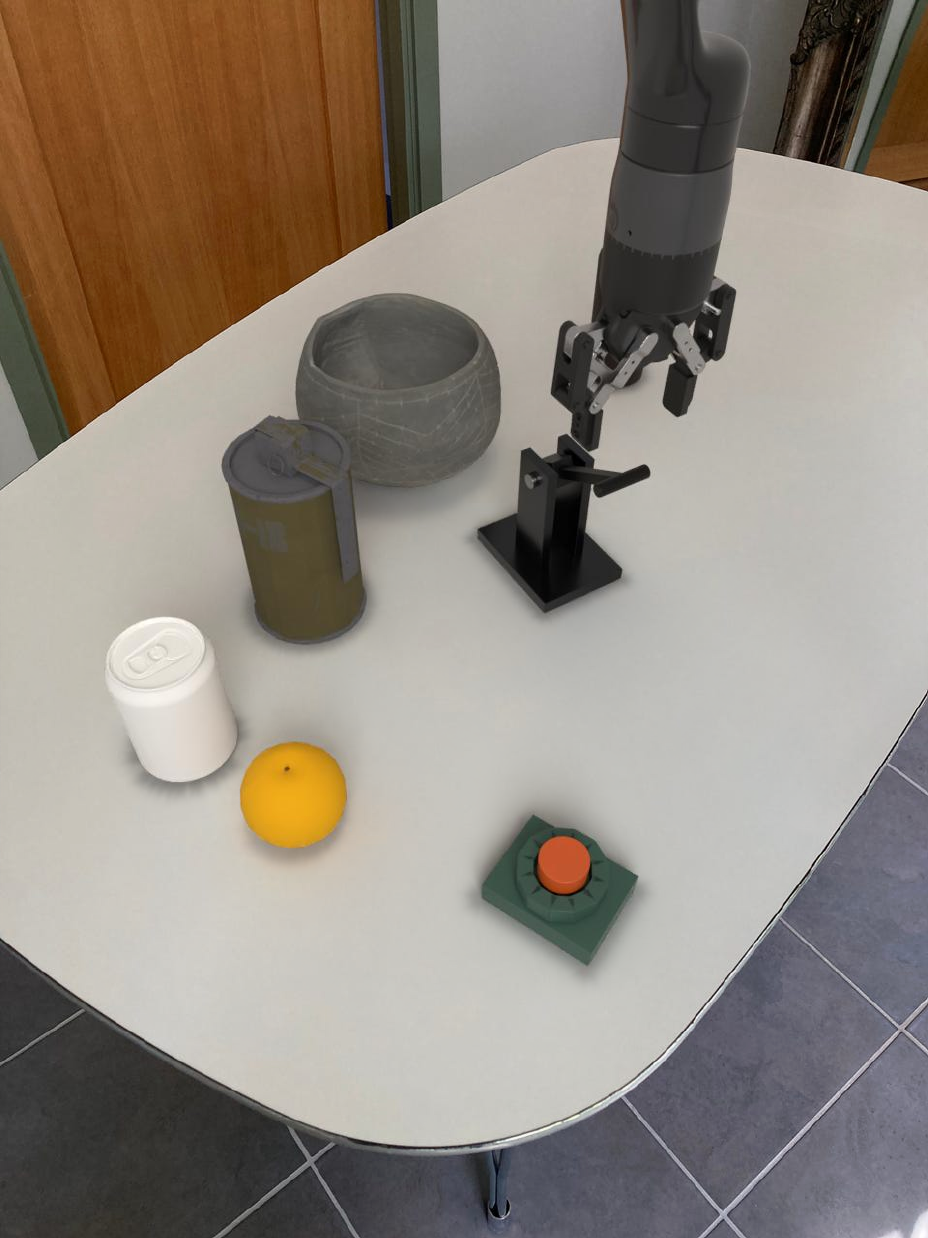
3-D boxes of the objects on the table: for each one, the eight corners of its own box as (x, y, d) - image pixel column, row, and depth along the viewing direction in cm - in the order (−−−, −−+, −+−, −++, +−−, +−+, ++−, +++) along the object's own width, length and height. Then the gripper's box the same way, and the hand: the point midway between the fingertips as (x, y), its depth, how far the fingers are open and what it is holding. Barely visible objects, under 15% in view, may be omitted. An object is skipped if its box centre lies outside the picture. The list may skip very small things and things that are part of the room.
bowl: (535, 482, 102) (544, 360, 91) (359, 551, 95) (346, 428, 84) (437, 384, 114) (436, 265, 103) (275, 438, 107) (254, 317, 96)
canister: (231, 613, 89) (186, 440, 74) (305, 549, 95) (277, 377, 80) (320, 665, 85) (291, 493, 70) (392, 595, 91) (379, 422, 76)
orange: (353, 773, 78) (345, 719, 72) (347, 862, 72) (338, 811, 67) (254, 775, 77) (238, 720, 72) (241, 864, 72) (223, 812, 67)
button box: (634, 890, 71) (642, 864, 68) (588, 966, 67) (594, 942, 64) (531, 828, 74) (534, 801, 71) (481, 898, 70) (482, 872, 67)
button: (596, 865, 68) (599, 853, 67) (571, 904, 66) (573, 892, 65) (553, 839, 70) (555, 827, 68) (527, 877, 68) (528, 865, 66)
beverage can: (258, 744, 79) (233, 652, 70) (176, 805, 75) (138, 715, 67) (201, 690, 83) (171, 595, 74) (120, 745, 79) (77, 652, 70)
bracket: (621, 578, 93) (640, 475, 83) (544, 613, 89) (554, 510, 80) (550, 507, 99) (560, 404, 90) (477, 538, 96) (479, 434, 87)
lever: (653, 485, 78) (648, 457, 77) (604, 506, 77) (598, 477, 76) (573, 472, 89) (567, 447, 88) (528, 490, 87) (522, 465, 86)
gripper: (611, 275, 57) (584, 485, 69) (787, 219, 62) (733, 424, 74) (540, 224, 61) (526, 431, 73) (710, 175, 66) (671, 376, 78)
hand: (630, 427), depth 74 cm, fingers open, 8 cm apart
